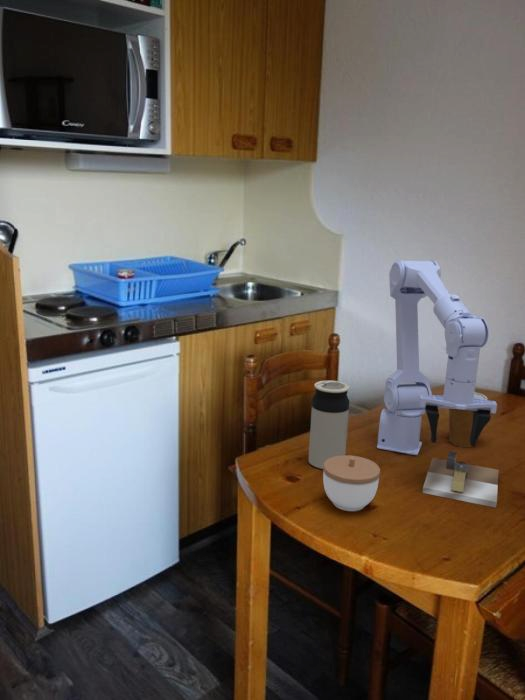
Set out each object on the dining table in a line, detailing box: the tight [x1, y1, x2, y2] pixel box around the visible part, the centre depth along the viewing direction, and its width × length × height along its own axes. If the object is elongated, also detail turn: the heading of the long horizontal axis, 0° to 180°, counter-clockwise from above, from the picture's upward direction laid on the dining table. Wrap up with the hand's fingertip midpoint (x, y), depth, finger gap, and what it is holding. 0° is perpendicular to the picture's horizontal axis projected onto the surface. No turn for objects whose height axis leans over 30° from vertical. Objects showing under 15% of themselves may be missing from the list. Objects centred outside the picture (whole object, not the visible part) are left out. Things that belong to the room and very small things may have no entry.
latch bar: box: [451, 461, 470, 492], centre depth 126 cm, size 9×3×3 cm, turn 158°
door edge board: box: [422, 457, 500, 508], centre depth 129 cm, size 14×16×1 cm
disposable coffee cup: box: [448, 391, 488, 448], centre depth 150 cm, size 10×10×12 cm
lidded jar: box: [322, 454, 381, 512], centre depth 118 cm, size 11×11×9 cm
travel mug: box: [308, 379, 350, 470], centre depth 134 cm, size 8×8×18 cm
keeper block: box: [446, 450, 457, 470], centre depth 135 cm, size 2×4×2 cm, turn 158°
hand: (452, 442), depth 124 cm, fingers open, 7 cm apart
